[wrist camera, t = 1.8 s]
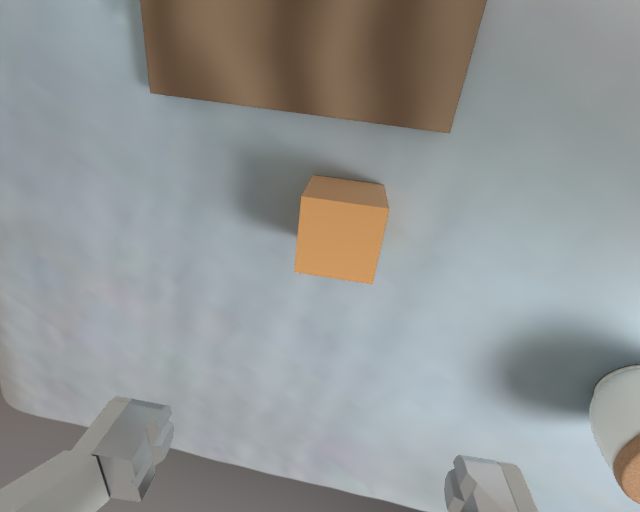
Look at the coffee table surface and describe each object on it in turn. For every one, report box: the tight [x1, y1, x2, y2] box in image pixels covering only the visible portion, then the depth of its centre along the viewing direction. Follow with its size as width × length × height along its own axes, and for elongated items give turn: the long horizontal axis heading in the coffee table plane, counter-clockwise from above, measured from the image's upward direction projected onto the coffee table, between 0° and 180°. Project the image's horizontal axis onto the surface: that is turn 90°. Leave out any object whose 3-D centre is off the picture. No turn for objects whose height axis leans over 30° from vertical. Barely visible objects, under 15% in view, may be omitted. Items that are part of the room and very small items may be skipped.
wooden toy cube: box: [294, 175, 389, 284], centre depth 24 cm, size 5×5×6 cm
